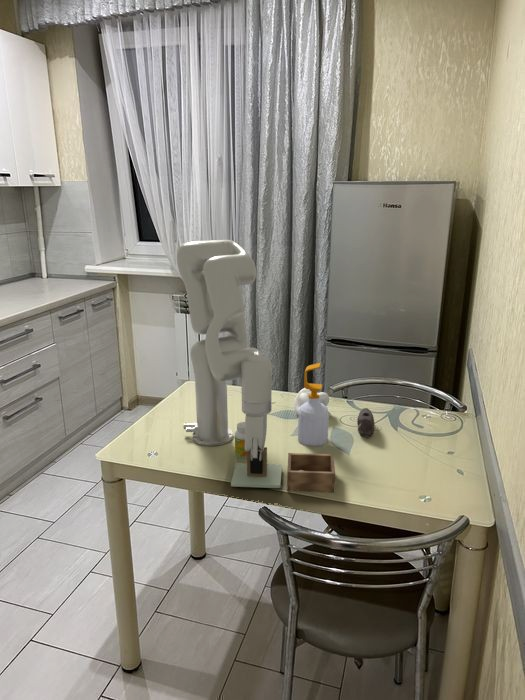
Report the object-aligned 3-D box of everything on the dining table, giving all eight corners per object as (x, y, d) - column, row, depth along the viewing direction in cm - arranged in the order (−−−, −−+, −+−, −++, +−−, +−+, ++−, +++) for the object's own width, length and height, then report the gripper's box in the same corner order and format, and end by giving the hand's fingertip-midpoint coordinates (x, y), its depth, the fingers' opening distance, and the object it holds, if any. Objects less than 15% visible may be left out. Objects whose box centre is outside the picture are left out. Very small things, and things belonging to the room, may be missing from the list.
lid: (230, 486, 135) (230, 458, 133) (235, 465, 145) (235, 439, 143) (280, 488, 134) (280, 460, 132) (281, 467, 144) (282, 441, 142)
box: (287, 492, 134) (287, 471, 133) (288, 472, 144) (288, 452, 142) (334, 494, 134) (335, 473, 132) (332, 474, 143) (333, 454, 141)
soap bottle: (326, 448, 158) (329, 370, 150) (296, 445, 159) (297, 368, 152) (328, 435, 166) (331, 360, 159) (300, 432, 168) (301, 359, 160)
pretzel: (285, 416, 180) (285, 391, 177) (306, 405, 189) (306, 382, 186) (312, 425, 173) (312, 399, 170) (332, 414, 182) (333, 389, 179)
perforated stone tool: (357, 420, 176) (358, 401, 174) (373, 421, 176) (374, 402, 174) (356, 440, 162) (357, 420, 160) (374, 442, 161) (375, 421, 159)
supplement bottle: (232, 458, 152) (231, 427, 149) (239, 449, 157) (238, 419, 154) (249, 461, 150) (249, 430, 147) (256, 452, 155) (256, 422, 152)
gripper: (245, 392, 142) (246, 454, 147) (238, 417, 126) (239, 485, 131) (273, 393, 141) (273, 455, 146) (269, 418, 125) (269, 486, 131)
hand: (257, 469), depth 139 cm, fingers closed on lid, 3 cm apart
